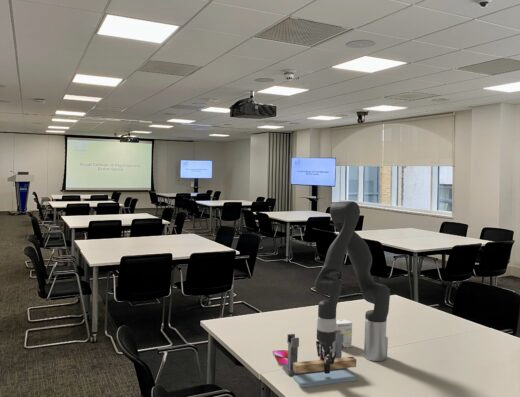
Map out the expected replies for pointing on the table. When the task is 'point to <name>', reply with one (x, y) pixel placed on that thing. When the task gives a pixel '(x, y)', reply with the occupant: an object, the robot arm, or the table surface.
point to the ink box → (345, 331)
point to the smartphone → (281, 357)
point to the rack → (293, 352)
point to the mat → (324, 378)
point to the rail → (319, 365)
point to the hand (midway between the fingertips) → (325, 371)
